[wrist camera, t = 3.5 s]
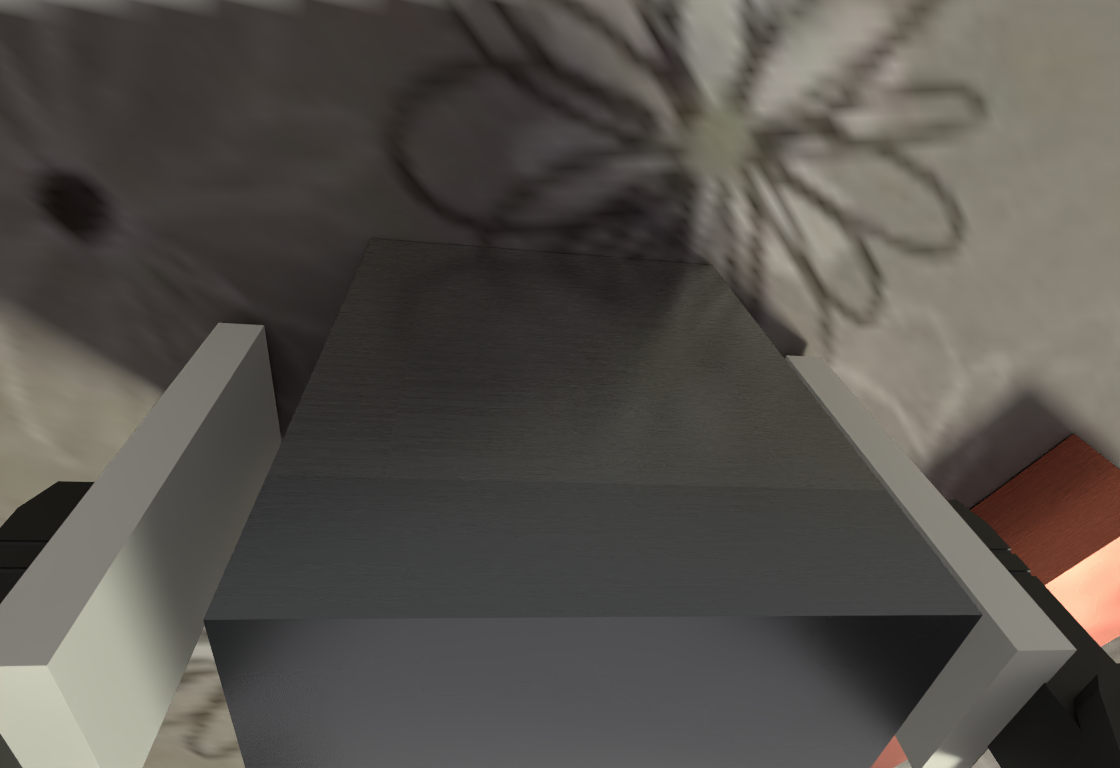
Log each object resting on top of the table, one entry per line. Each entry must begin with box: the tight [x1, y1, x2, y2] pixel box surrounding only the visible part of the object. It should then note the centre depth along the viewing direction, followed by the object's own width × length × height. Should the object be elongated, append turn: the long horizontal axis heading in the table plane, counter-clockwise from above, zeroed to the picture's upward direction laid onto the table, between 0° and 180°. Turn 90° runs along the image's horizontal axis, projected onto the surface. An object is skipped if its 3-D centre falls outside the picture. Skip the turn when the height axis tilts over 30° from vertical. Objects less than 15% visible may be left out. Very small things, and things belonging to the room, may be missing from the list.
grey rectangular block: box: [203, 239, 983, 768], centre depth 9 cm, size 6×6×8 cm
